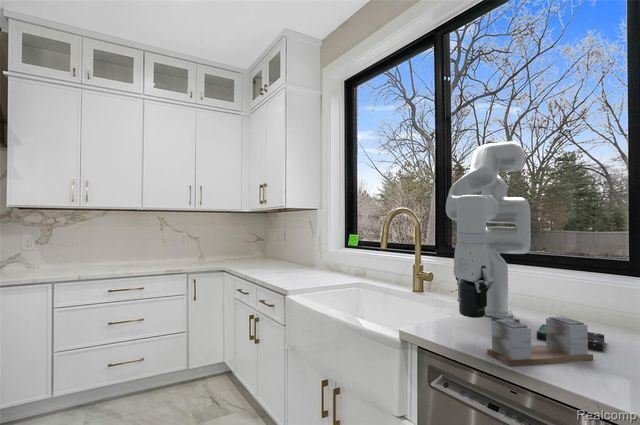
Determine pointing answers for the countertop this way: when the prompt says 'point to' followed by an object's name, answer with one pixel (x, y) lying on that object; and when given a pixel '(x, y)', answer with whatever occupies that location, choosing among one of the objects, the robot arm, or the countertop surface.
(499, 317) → the block
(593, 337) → the disk drive
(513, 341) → the rail
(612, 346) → the countertop surface
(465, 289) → the supplement bottle
